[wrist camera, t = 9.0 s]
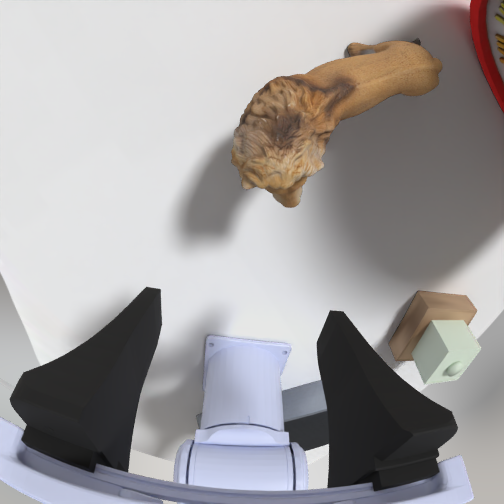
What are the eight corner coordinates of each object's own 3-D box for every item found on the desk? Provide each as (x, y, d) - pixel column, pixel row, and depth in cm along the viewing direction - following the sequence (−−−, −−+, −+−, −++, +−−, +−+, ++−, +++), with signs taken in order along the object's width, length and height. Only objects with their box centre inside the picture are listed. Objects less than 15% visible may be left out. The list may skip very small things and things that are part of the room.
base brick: (436, 343, 29) (444, 359, 27) (388, 343, 29) (395, 361, 26) (466, 295, 26) (477, 310, 23) (417, 290, 25) (428, 307, 23)
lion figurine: (269, 179, 20) (279, 245, 13) (218, 119, 18) (191, 143, 10) (433, 71, 16) (521, 79, 8) (392, 7, 13) (470, -22, 6)
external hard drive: (192, 409, 36) (189, 435, 33) (335, 368, 31) (341, 398, 28) (242, 443, 42) (241, 465, 38) (360, 412, 37) (365, 436, 34)
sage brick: (443, 351, 26) (459, 383, 22) (411, 353, 26) (426, 388, 22) (463, 320, 24) (483, 352, 20) (431, 320, 24) (451, 355, 20)
